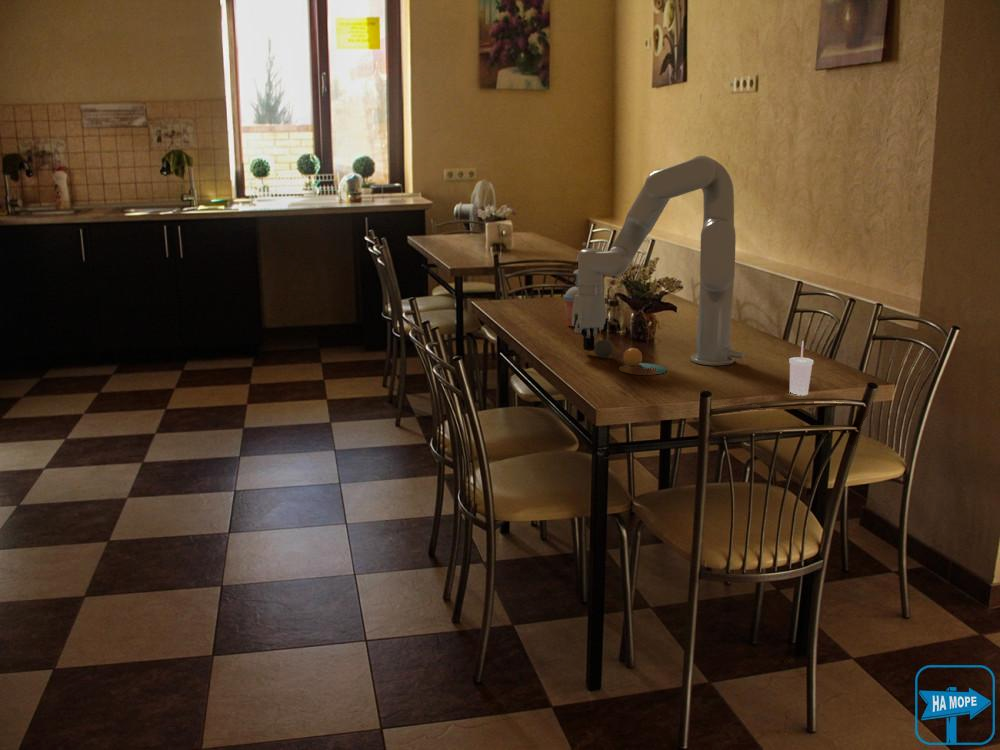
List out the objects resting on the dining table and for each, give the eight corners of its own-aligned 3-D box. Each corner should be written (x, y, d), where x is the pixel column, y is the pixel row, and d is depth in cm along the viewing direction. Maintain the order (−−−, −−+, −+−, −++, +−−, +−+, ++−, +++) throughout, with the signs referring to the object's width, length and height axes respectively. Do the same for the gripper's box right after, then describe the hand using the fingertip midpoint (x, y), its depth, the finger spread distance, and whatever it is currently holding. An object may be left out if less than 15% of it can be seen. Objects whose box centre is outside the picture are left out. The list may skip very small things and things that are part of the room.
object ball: (638, 347, 285) (641, 365, 285) (619, 350, 285) (623, 369, 285) (641, 345, 280) (645, 364, 279) (623, 349, 279) (627, 367, 279)
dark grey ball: (610, 338, 295) (612, 356, 295) (592, 340, 295) (594, 358, 295) (612, 339, 289) (614, 357, 290) (593, 341, 289) (596, 360, 290)
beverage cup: (809, 397, 252) (814, 344, 248) (785, 394, 254) (789, 342, 250) (811, 391, 257) (816, 339, 254) (787, 389, 259) (791, 337, 256)
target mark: (672, 366, 282) (673, 366, 282) (658, 377, 270) (658, 377, 270) (626, 361, 288) (626, 361, 288) (610, 372, 276) (611, 371, 276)
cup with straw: (587, 329, 333) (588, 276, 329) (561, 328, 335) (562, 276, 331) (590, 323, 342) (591, 273, 338) (564, 322, 344) (565, 272, 339)
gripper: (601, 286, 299) (599, 344, 304) (562, 290, 291) (561, 350, 296) (617, 289, 293) (615, 349, 298) (578, 294, 285) (577, 355, 290)
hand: (588, 349), depth 297 cm, fingers closed
